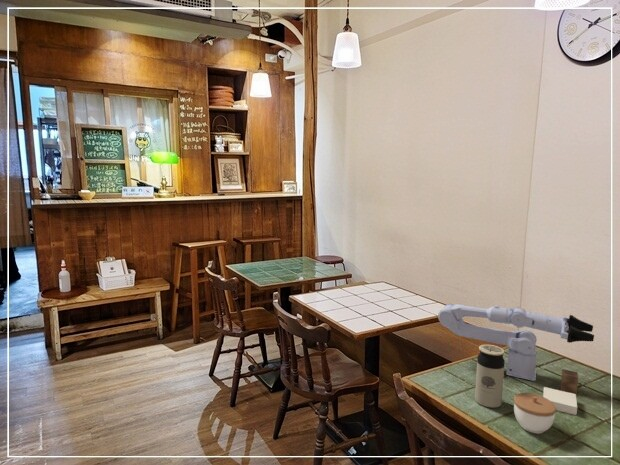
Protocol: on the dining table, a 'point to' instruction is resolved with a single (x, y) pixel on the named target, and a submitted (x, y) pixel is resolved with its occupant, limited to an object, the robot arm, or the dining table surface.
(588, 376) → the dining table surface
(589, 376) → the dining table surface
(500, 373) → the travel mug
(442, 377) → the dining table surface
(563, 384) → the walnut block
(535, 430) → the lidded jar
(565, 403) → the cream tile block
